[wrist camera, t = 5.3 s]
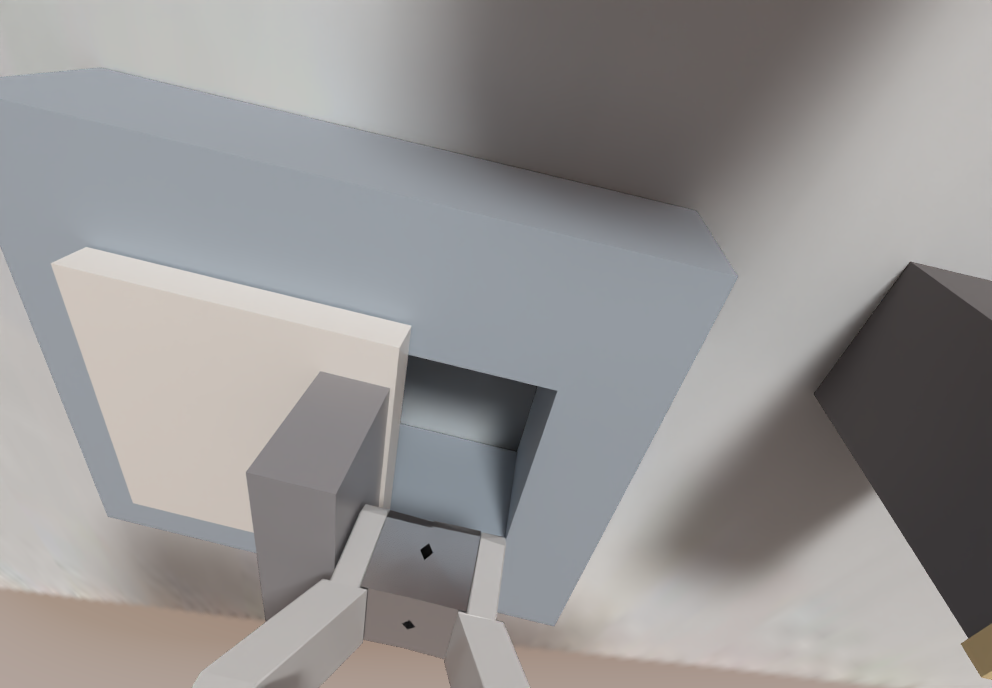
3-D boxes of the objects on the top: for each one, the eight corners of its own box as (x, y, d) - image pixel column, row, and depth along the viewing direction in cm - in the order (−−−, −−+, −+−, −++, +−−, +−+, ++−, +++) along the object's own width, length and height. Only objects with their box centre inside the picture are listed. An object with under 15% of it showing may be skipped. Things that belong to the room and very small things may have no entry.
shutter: (411, 325, 10) (343, 450, 7) (386, 536, 14) (336, 671, 11) (86, 246, 10) (-114, 338, 7) (154, 480, 14) (43, 599, 11)
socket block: (696, 210, 11) (738, 276, 8) (557, 528, 18) (554, 626, 15) (100, 67, 11) (-65, 82, 8) (183, 436, 18) (107, 516, 15)
